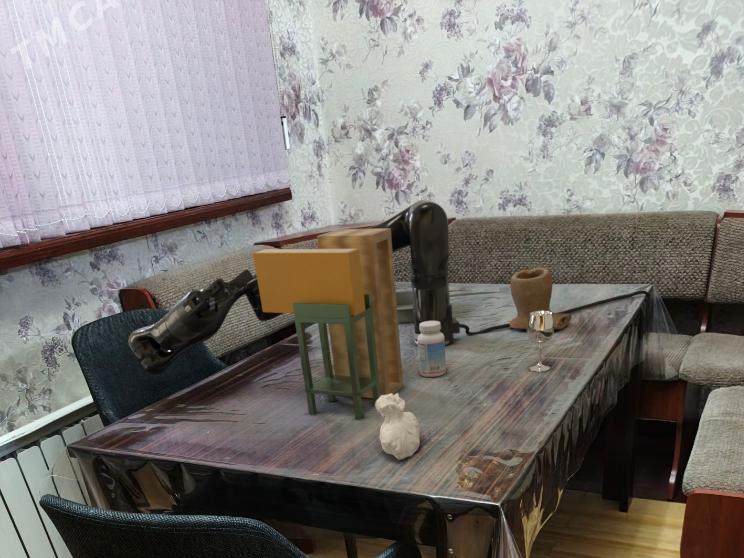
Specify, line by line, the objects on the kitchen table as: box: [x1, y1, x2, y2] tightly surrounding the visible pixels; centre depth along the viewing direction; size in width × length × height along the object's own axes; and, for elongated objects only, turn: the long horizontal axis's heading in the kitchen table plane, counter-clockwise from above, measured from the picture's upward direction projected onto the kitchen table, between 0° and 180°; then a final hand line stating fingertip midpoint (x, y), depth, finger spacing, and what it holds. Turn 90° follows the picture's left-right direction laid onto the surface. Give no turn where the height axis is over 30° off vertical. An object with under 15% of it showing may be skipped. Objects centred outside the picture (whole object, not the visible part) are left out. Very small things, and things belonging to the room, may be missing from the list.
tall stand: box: [316, 228, 404, 399], centre depth 145 cm, size 12×8×32 cm, turn 64°
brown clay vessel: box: [508, 267, 572, 330], centre depth 181 cm, size 15×12×15 cm
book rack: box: [293, 294, 381, 420], centre depth 139 cm, size 12×9×22 cm
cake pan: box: [396, 289, 414, 324], centre depth 209 cm, size 25×25×4 cm
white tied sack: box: [374, 392, 421, 461], centre depth 122 cm, size 12×8×11 cm
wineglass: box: [526, 310, 555, 372], centre depth 154 cm, size 6×6×12 cm
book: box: [252, 248, 365, 316], centre depth 134 cm, size 21×4×11 cm, turn 64°
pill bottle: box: [417, 321, 447, 378], centre depth 157 cm, size 6×6×11 cm
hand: (236, 277), depth 141 cm, fingers open, 8 cm apart
